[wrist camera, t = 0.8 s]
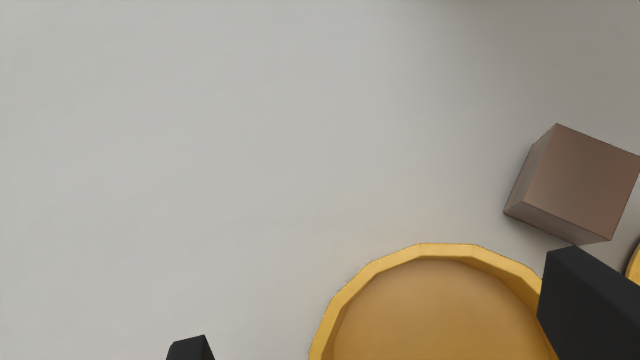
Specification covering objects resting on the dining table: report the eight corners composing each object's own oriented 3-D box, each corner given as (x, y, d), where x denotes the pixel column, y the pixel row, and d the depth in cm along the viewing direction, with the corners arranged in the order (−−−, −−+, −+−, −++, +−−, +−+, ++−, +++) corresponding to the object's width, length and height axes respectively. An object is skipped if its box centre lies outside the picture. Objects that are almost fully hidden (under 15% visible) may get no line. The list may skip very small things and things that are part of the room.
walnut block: (608, 175, 27) (646, 158, 23) (577, 246, 27) (611, 240, 23) (532, 144, 28) (556, 122, 24) (502, 212, 28) (521, 201, 24)
